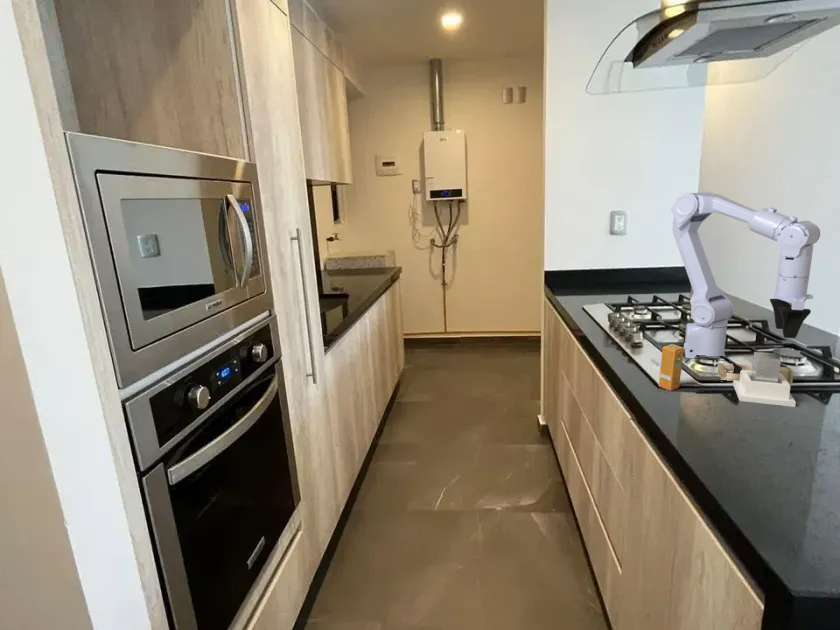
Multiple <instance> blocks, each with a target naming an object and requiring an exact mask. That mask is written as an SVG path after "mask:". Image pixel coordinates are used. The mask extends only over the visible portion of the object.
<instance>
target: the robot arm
mask: <svg viewBox="0 0 840 630" xmlns="http://www.w3.org/2000/svg"><path fill="white" fill-rule="evenodd" d="M777 211H778V209H777V208H775V207H769V208H765V207H764V208H761V209H758V210H755V209H753V208H751V207H748V206H747V205H744V204H742V203H739V202H737V201H735V200H733V199H730V198H728V197H726V196H723V195H722V194H719V193H713V192H711V191H702V192H684V193H681V194H680V195H678V196H677V197H676V199H675V201H674V202H673V204H672V205H671V212H672V214H673V216H672V217H673V220H672V234H673V237H674V240H675V242H676V247H677V248H678V251H679V254H680V258H681V260H682V263H683V265H684V268H685V271H686V274H687V277H688V279H689V283H690V286H691V288H692V292H693V293H692V295H691V297H690V300H689V302H690V308H691V310H690V317H691V319H692V320H693V321H694V322H687V323H686V328H685V336H684V337H685V338H684V343H683V348H684V350H685V351H684V355H685V358H686V359H691V358H694V357H695V356H696V355H706V356H724V355H725V356H726V354H725V350H726V349H725V348H726V339H727V330H728V329H727V328H728V322H729V321H728V320H729V319H731V318H732V316H733V315H734V312H735V306H734V304H733V302H732V301H731V300H730V299H729V298H728V297H727V295H726V292H725V291H724V290H723V289H722V288H720V287H719V286H718V285H717V283H716V281H715V277H714V275H713V272H712V269H711V267H710V264H709V261H708V258H707V256H706V253H705V250H704V246H703V244H702V241H701V239H700V235H699V232H698V230H699V228H700V227H701V226H702V223H703V222H704V221H705V220H706V219H708V218H709V217H710V216H711V215H712V214H713V213H717V214H719V215H723V216H726V217H729V218H731V219H734V220H737V221H739V222H743V223H746V224H747V225H748V229H749V231H751V232H752V233H755V234H757V235H760V236H762V237H765V238H768V239H770V240H772V241H775V242H777V244H778V245H779V246H780V249H781V250H780V255H779V256H780V257H779V262H778V263H779V264H778V271H777V279H776V286H775V292H774V294H773V298H769V302H770V304H771V306H772V310H773V317H774V322H775V329H778V330H779V329H780V330H782V336H783V338H784V339H785V338H786V339H796V338H797V336H798V334H799V331H800V329H801V327H802V325H803V324H804V321H805V320H806V319H807V318H808V317H809V316H810V314H811V312H812V310H811V309H809V308H805V303H806V301H807V300H813V299H814V296H813V295H812V294H809V293H808V287H809V281H810V273H811V268H812V267H811V266H812V260H813V250H814V247H815V246H814V244H816V243H818V241H819V239H820V236H821V229H820V228H819V227H818V225H817V224H815V223H814V222H813V221H811V220H801V221H798V219H799V218H798V217H797V216H795V215H794V216H788V215H785V214H782V213H779V212H777ZM726 357H727V356H726Z"/></svg>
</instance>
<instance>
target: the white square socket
mask: <svg viewBox="0 0 840 630" xmlns="http://www.w3.org/2000/svg"><path fill="white" fill-rule="evenodd" d="M739 374H740V380H739V381H738V380H733V382H732V385H733V386H732V387H733V388H734V390H735V392H736V393H735V394H736V395H737V398H738V400H739V401H740V402H745V403H746V402H748V403H756V404H765V405H774V406H775V405H776V406H783V407H792V408H796V404H797V402H796V401H795V399H794V397H793V395H792V394H791V393H790V391H791V385H790V384H789V383H788V382H787V380H786V379H785V377H784V376H783V374H782V373H779V377H778V383H770V382H759V381H751V374H752V371H750V370H741V371H740V373H739Z"/></svg>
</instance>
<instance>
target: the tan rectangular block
mask: <svg viewBox="0 0 840 630" xmlns="http://www.w3.org/2000/svg"><path fill="white" fill-rule="evenodd" d="M779 373H782V374H783V376H784V377H785V379H786V380H787V382H788V383H789V385H790V384H793V381H794V380H793V379H794V373H795V370H793V368H792V367H788V366H786V367H785V366H780V370H779Z"/></svg>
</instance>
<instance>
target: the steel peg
mask: <svg viewBox="0 0 840 630" xmlns="http://www.w3.org/2000/svg"><path fill="white" fill-rule="evenodd" d="M781 361H782V359H781V358H780V356H779V355H778V354H777V353H775V352H772V353H771V352H763V351H762V352H759V351H754V352H753V359H752V365H751V366H752V374H751V381H759V382H770V383H778V377H779V370H780V367H781Z"/></svg>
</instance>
